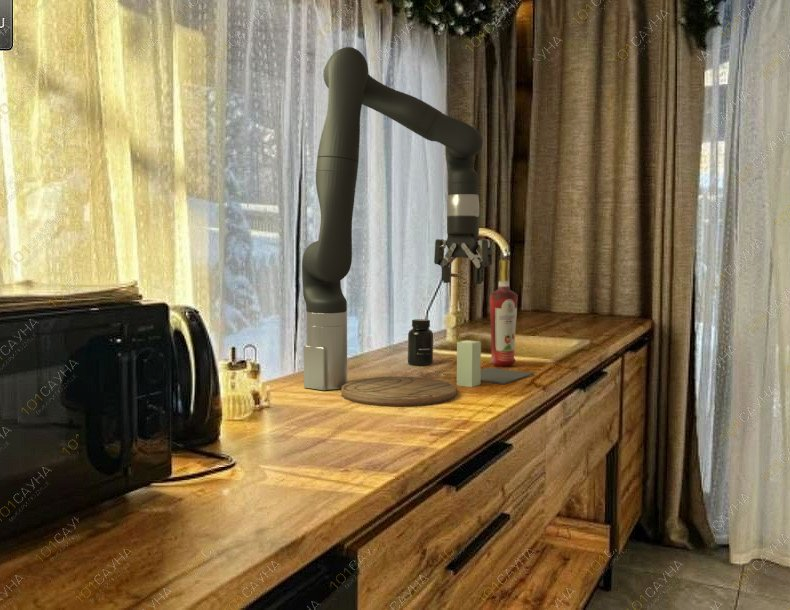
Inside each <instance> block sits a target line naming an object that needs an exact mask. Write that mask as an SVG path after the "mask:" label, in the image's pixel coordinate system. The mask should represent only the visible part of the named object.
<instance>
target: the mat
mask: <svg viewBox="0 0 790 610" xmlns="http://www.w3.org/2000/svg"><path fill="white" fill-rule="evenodd" d="M533 374H534V375H535V373H534V372H529V371H520V370H512V369H505V368H504V369H503V368H495V367H494V368H493V367H485V368H481V381H480V383H481V382H482V383H489V384H498V385H507V384H510V383H512V382H515V381H518V379H519V380H521V378H522V379H525V378H528V377H530V375H531V376H533ZM527 376H528V377H527ZM524 377H525V378H524ZM455 379H457V376H455Z"/></svg>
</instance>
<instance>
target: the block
mask: <svg viewBox="0 0 790 610" xmlns="http://www.w3.org/2000/svg"><path fill="white" fill-rule="evenodd" d="M481 342H482V341H477V340H466V339H465V340H461V341H457V342H456V377H457V378H456V386H460V387H466V388H467V387H469V388H473V387H476V386H480V385H481V369H482V368H481V367H482V366H481V365H482V362H481V361H482V343H481Z"/></svg>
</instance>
